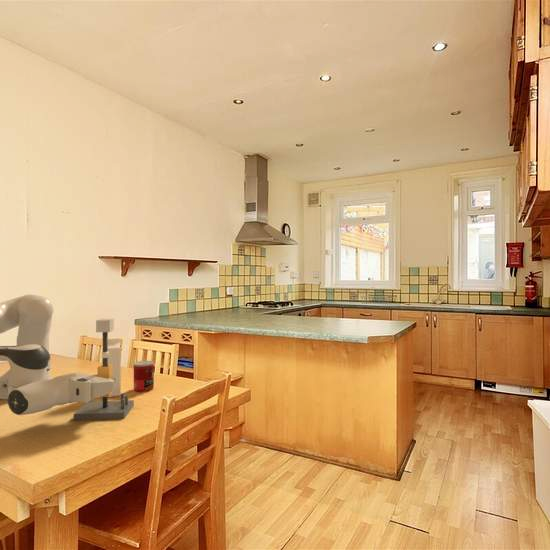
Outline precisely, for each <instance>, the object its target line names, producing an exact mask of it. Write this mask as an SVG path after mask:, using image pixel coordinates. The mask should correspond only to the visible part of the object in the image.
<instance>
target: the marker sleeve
mask: <svg viewBox="0 0 550 550" xmlns="http://www.w3.org/2000/svg"><path fill="white" fill-rule="evenodd" d="M96 369H97V370H96V371H97V374H96V375H97V377H102V378H106V379H108V377H113V365H108V367H103V364H101V365H99V366H98V367H96ZM112 393H113V391H112V392H111V393H108V394H106V395H103V396H100V397H99V398H103V397H108V398H110V397H109V396H110V395H111V394H112Z"/></svg>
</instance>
